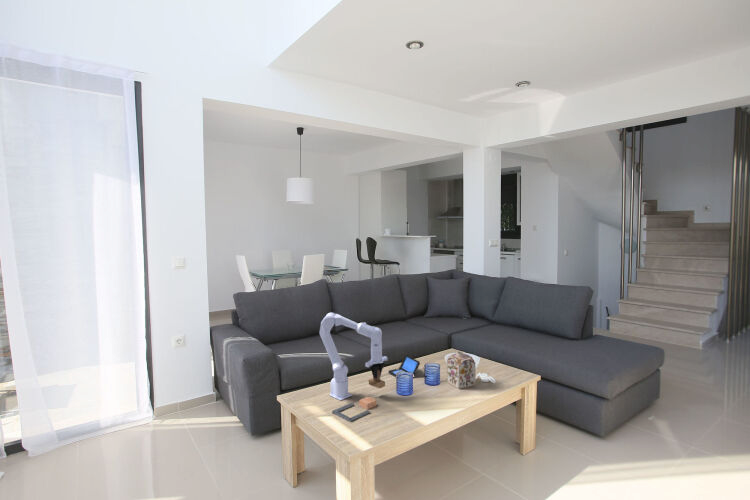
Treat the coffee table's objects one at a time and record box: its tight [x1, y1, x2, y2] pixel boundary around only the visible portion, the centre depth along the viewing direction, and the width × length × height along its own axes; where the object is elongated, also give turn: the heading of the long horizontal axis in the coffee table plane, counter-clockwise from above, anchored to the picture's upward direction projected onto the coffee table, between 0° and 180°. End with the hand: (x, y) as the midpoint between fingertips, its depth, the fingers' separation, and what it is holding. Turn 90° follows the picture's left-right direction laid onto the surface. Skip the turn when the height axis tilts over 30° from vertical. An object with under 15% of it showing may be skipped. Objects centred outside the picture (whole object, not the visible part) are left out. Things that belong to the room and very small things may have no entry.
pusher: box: [368, 370, 386, 389], centre depth 216 cm, size 8×4×8 cm, turn 46°
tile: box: [359, 396, 377, 410], centre depth 206 cm, size 6×6×3 cm
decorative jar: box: [446, 351, 477, 390], centre depth 232 cm, size 12×12×18 cm
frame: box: [331, 402, 370, 423], centre depth 198 cm, size 13×12×1 cm
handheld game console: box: [388, 354, 421, 378], centre depth 247 cm, size 16×13×9 cm
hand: (376, 377), depth 216 cm, fingers closed on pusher, 2 cm apart
